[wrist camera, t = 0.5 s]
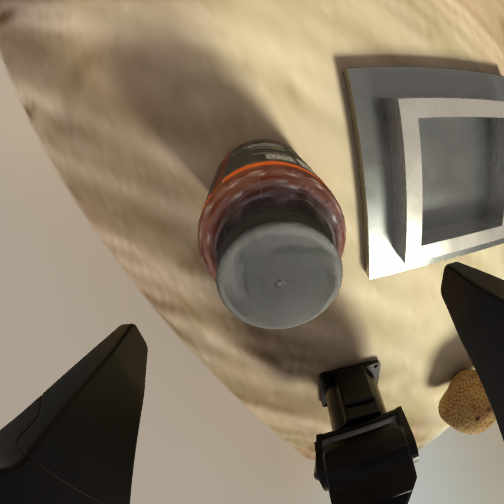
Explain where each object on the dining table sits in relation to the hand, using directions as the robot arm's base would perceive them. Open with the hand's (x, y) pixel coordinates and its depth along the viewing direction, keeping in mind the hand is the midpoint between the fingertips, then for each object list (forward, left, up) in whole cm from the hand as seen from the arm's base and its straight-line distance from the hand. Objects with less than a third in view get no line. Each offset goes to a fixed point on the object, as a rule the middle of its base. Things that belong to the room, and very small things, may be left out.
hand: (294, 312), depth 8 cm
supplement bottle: (0, 0, -13) cm, 13 cm away
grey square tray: (-1, -14, -13) cm, 19 cm away
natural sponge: (-30, -22, -13) cm, 39 cm away
